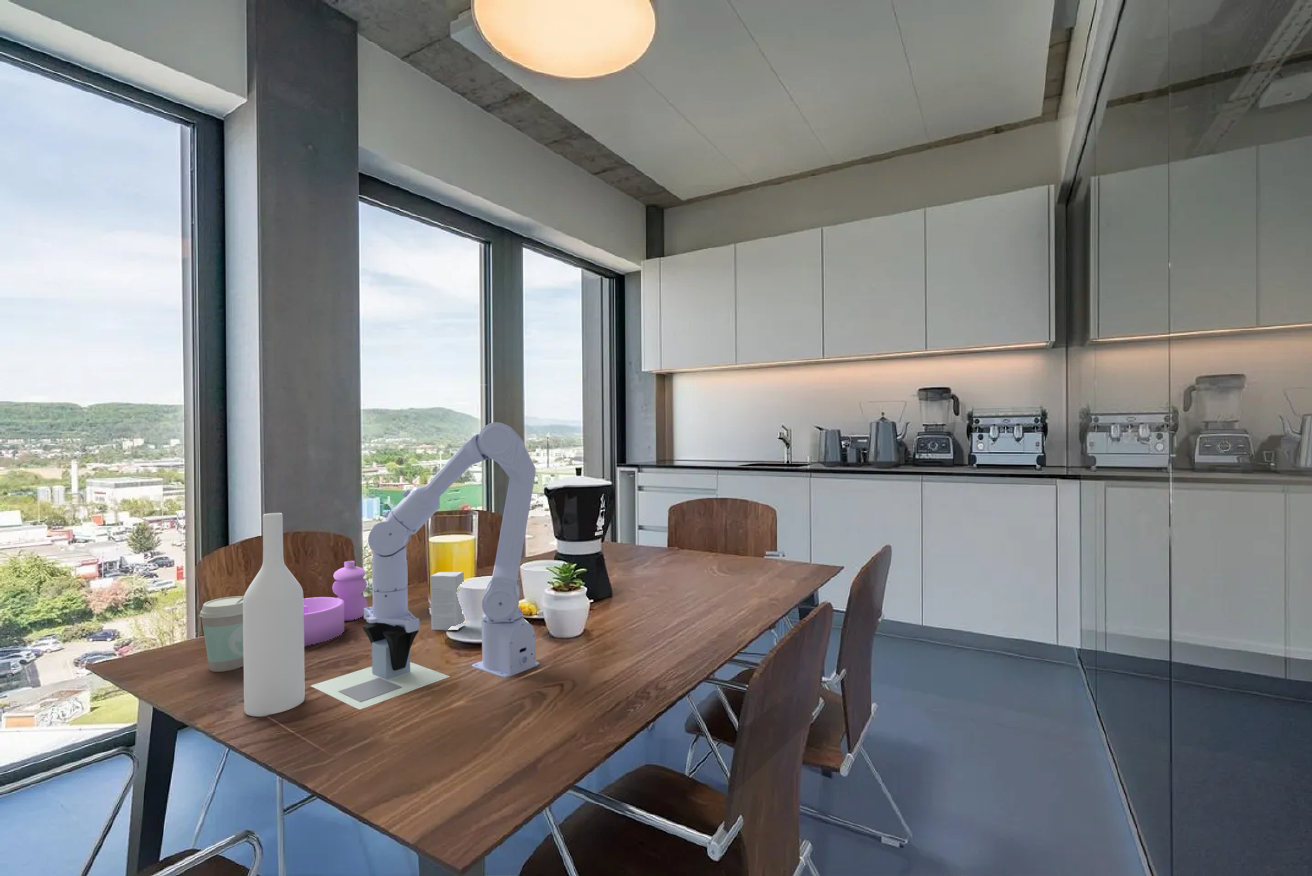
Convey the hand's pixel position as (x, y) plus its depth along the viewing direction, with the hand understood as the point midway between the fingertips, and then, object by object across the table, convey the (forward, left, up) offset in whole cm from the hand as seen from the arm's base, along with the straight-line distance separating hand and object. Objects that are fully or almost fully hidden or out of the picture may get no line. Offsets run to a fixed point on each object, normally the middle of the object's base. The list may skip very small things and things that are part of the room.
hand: (391, 665), depth 109 cm
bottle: (+3, +17, -2) cm, 18 cm away
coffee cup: (+29, +15, -2) cm, 33 cm away
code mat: (-2, +3, -2) cm, 4 cm away
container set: (+38, -6, -2) cm, 39 cm away
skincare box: (+15, -22, -2) cm, 27 cm away
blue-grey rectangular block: (0, 0, -1) cm, 1 cm away
